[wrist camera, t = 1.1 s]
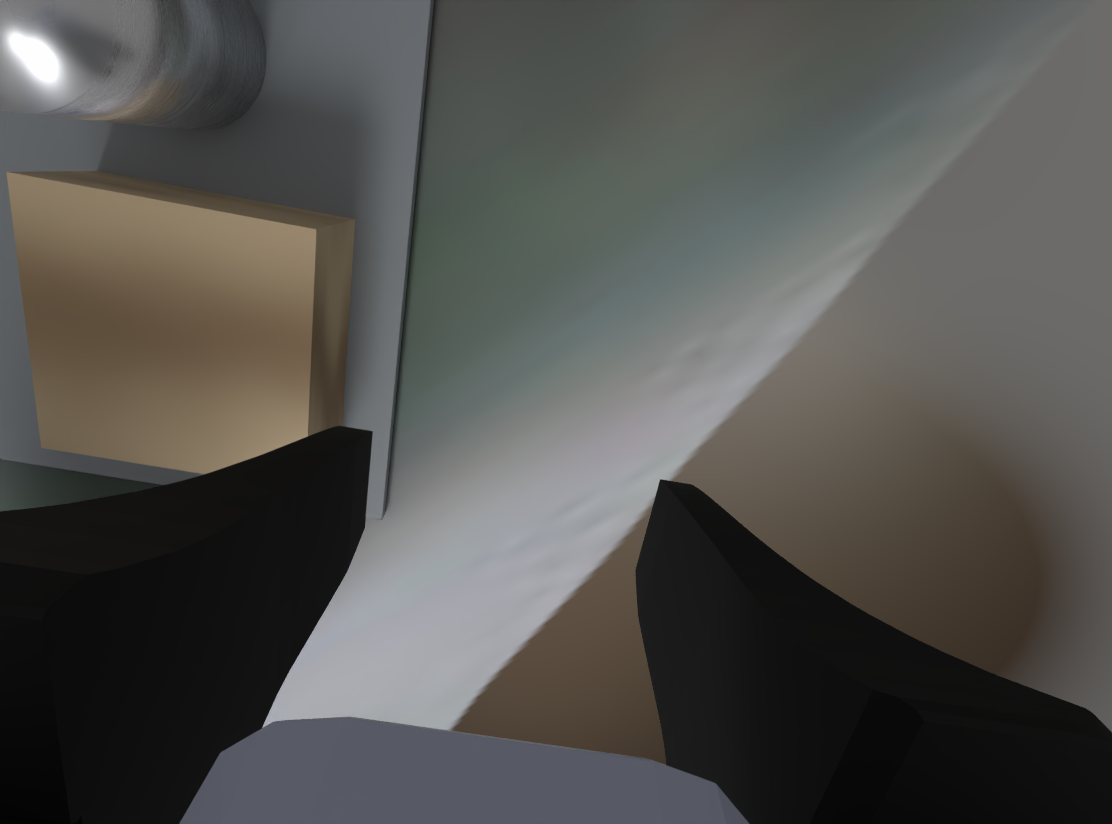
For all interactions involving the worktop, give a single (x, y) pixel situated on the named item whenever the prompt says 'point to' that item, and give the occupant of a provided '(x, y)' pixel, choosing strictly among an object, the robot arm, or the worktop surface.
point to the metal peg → (132, 60)
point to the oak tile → (178, 318)
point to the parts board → (265, 194)
